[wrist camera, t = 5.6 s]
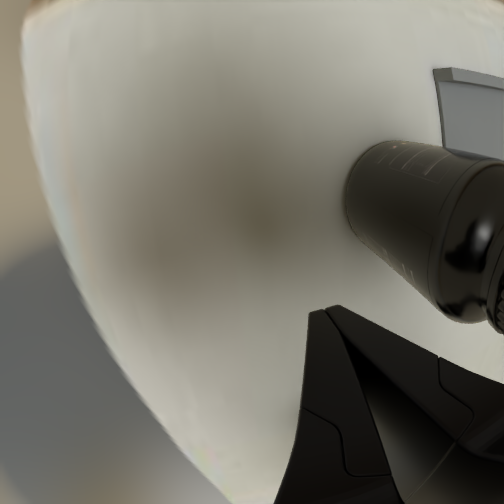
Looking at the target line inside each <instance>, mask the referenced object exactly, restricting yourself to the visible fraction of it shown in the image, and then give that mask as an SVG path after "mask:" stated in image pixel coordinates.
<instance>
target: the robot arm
mask: <svg viewBox="0 0 504 504" xmlns="http://www.w3.org/2000/svg"><path fill="white" fill-rule="evenodd" d="M274 504H504V384H502V383H499V382H497V381H494V380H491V379H488V378H486V377H483V376H481V375H478V374H476V373H473V372H471V371H468V370H466V369H464V368H462V367H460V366H458V365H456V364H454V363H452V362H450V361H448V360H446V359H444V358H442V357H439V358H438V356H437V355H436V354H434V353H432V352H430V351H428V350H426V349H424V348H422V347H420V346H418V345H416V344H414V343H412V342H410V341H408V340H406V339H405V338H403V337H401V336H399V335H397V334H395V333H393V332H391V331H389V330H387V329H385V328H383V327H381V326H379V325H377V324H375V323H374V322H372V321H370V320H368V319H366V318H364V317H362V316H360V315H358V314H356V313H354V312H352V311H350V310H348V309H347V308H345V307H343V306H341V305H334V306H331V307H327V308H325V310H323V309H320V310H316V311H313V312H310V313H309V317H308V330H307V342H306V354H305V365H304V375H303V384H302V393H301V402H300V410H299V417H298V424H297V430H296V435H295V441H294V445H293V448H292V452H291V455H290V459H289V462H288V465H287V468H286V471H285V474H284V477H283V480H282V482H281V485H280V488H279V491H278V493H277V496H276V499H275V501H274Z"/></svg>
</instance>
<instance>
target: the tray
mask: <svg viewBox="0 0 504 504" xmlns="http://www.w3.org/2000/svg"><path fill="white" fill-rule="evenodd" d="M433 72H434V77H435V83H436V89H437V95H438V102H439V109H440V117H441V127H442V138H443V147H447V148H452V149H457V150H462V151H467V152H472V153H476V154H481V155H485V156H489V157H493V158H497V159H501V160H504V79H503V78H500V77H496V76H492V75H488V74H483V73H479V72H474V71H469V70H464V69H458V68H452V67H450V68H441V69H433Z"/></svg>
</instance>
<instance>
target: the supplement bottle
mask: <svg viewBox="0 0 504 504" xmlns="http://www.w3.org/2000/svg"><path fill="white" fill-rule="evenodd" d="M346 209H347V214H348V218H349V221H350V224H351V226H352V228H353V230H354V232H355V233H356V235H357V236H358V237H359V239H360V240H361V241H362V242H363V243H364V244H365V245H367V246H368V247H369V248H370V249H371V250H372V251H373V252H374V253H376V254H377V255H378V256H379V257H380V258H381V259H383V260H384V261H385V262H386V263H387V264H388V265H389V266H391V267H392V268H393V269H394V270H395V271H396V272H397V273H399V274H400V275H401V276H402V277H403V278H404V279H405V280H406V281H407V282H409V283H410V284H411V285H412V286H413V287H414V288H415V289H416V290H417V291H418V292H419V293H421V294H422V295H423V296H424V297H425V298H426V299H427V300H428V301H429V302H430V303H431V304H432V305H433V306H434V307H435V308H436V309H438V310H439V311H440V312H441V313H442V314H443V315H445V316H446V317H447V318H449V319H451V320H453V321H455V322H459V323H465V324H473V323H479V322H482V321H485V320H488V323H489V324H490V325H491V326H492V327H493V328H494V329H495V330H496V331H497V332H498V333H500V334H503V335H504V160H501V159H497V158H493V157H489V156H485V155H481V154H476V153H472V152H467V151H462V150H457V149H452V148H447V147H441V146H435V145H429V144H423V143H416V142H409V141H388V142H384V143H381V144H379V145H377V146H375V147H373V148H372V149H370V150H369V151H368V152H367V153H365V154H364V155H363V156H362V158H361V159H360V160H359V161H358V163H357V164H356V166H355V168H354V170H353V171H352V174H351V176H350V179H349V182H348V187H347V193H346Z"/></svg>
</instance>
